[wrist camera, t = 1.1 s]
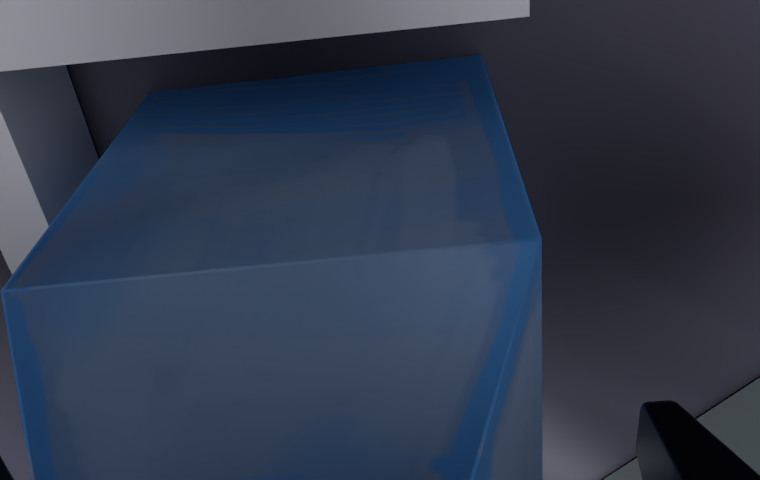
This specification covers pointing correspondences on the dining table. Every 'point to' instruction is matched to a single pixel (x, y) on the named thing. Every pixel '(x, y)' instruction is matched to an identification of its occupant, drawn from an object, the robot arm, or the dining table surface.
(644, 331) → the dining table surface
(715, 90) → the dining table surface
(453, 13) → the bay
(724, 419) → the tray
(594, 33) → the dining table surface
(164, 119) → the perfume bottle
